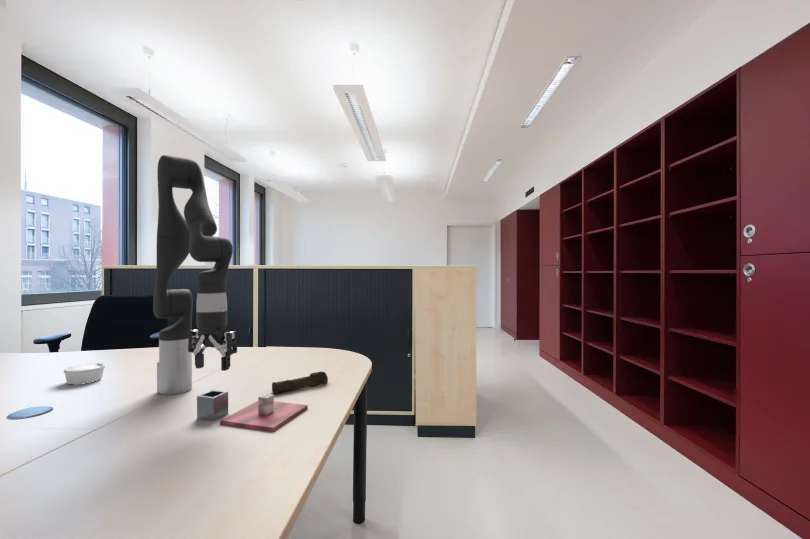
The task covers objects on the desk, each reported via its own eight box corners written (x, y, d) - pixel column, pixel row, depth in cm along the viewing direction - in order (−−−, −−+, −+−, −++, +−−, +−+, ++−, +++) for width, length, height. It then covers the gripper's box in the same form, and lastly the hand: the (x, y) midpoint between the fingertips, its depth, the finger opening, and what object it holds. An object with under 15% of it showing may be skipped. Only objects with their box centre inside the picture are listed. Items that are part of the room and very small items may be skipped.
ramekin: (110, 380, 139) (110, 365, 139) (70, 388, 129) (70, 372, 129) (97, 375, 145) (97, 361, 145) (58, 383, 135) (58, 368, 135)
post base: (220, 424, 100) (219, 403, 99) (260, 403, 115) (259, 384, 115) (273, 431, 95) (273, 409, 95) (307, 408, 110) (307, 389, 110)
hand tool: (274, 396, 122) (274, 381, 121) (271, 392, 125) (271, 378, 125) (330, 386, 132) (330, 372, 132) (326, 382, 136) (326, 369, 135)
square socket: (197, 418, 103) (196, 396, 103) (212, 411, 108) (212, 390, 108) (213, 420, 102) (213, 398, 102) (228, 413, 107) (228, 391, 107)
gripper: (179, 310, 103) (180, 370, 103) (223, 311, 99) (223, 374, 99) (201, 307, 110) (202, 364, 110) (243, 308, 106) (243, 367, 106)
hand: (212, 369), depth 105 cm, fingers open, 8 cm apart
